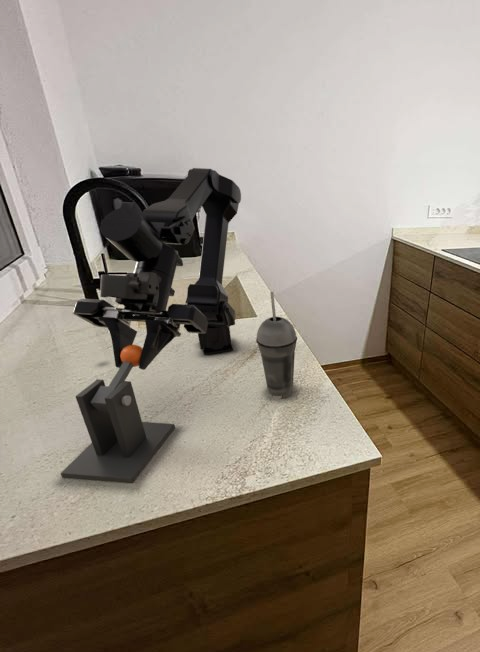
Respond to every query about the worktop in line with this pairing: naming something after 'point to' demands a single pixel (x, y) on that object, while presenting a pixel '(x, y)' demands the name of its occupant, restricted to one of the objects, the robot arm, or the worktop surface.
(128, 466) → the switch bracket
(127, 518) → the worktop surface
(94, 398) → the lever
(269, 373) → the beverage cup
